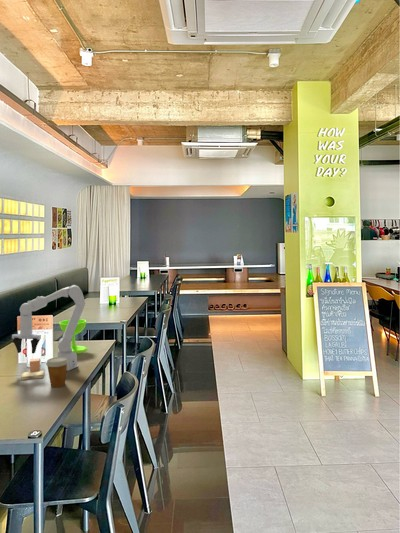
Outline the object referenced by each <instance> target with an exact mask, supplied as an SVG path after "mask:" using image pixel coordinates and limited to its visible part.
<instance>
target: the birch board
mask: <svg viewBox="0 0 400 533" xmlns="http://www.w3.org/2000/svg"><path fill="white" fill-rule="evenodd" d="M44 376H45V370H40V371H34V372H30V371H25V372H22V374H21V376H20V380H21V381H24V380H33V379H43V378H44Z"/></svg>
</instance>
